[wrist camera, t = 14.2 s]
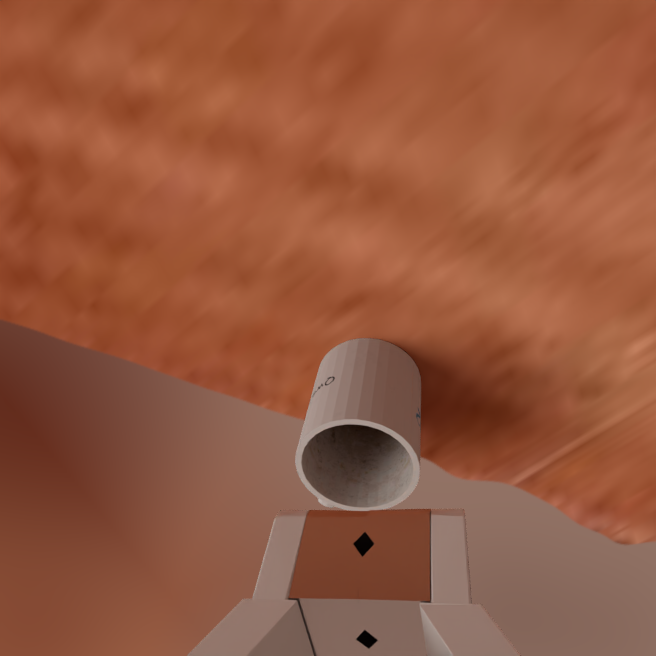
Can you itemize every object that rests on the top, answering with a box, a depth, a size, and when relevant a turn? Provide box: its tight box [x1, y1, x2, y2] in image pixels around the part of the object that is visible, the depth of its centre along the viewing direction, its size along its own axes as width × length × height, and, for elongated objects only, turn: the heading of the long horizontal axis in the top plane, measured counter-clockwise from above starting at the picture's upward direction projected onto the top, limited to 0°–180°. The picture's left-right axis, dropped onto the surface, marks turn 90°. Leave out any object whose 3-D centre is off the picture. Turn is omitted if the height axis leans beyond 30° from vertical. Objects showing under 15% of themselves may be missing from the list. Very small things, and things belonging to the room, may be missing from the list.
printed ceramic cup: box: [295, 338, 421, 511], centre depth 46 cm, size 12×9×10 cm
